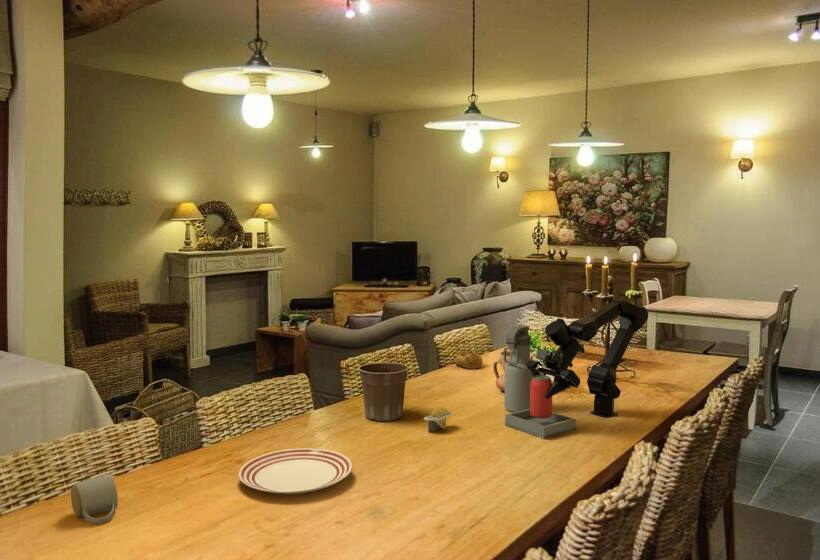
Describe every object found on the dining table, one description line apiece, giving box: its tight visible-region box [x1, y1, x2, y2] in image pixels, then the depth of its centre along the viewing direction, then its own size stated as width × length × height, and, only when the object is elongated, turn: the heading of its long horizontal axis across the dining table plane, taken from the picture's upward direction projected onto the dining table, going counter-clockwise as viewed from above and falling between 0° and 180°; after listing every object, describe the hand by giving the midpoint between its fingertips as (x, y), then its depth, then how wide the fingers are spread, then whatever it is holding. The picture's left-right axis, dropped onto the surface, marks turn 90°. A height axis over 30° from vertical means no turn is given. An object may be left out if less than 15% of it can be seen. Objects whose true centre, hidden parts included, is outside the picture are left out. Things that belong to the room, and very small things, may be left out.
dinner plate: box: [238, 447, 353, 495], centre depth 169 cm, size 28×27×3 cm
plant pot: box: [357, 362, 410, 422], centre depth 221 cm, size 16×16×16 cm
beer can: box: [530, 375, 553, 418], centre depth 209 cm, size 7×7×12 cm
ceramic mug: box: [70, 473, 119, 525], centre depth 148 cm, size 11×8×8 cm
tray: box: [504, 409, 577, 440], centre depth 210 cm, size 14×16×4 cm
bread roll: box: [453, 350, 483, 370], centre depth 293 cm, size 13×10×8 cm
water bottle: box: [503, 324, 532, 413], centre depth 228 cm, size 10×10×28 cm
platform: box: [423, 407, 452, 433], centre depth 207 cm, size 12×18×7 cm, turn 140°
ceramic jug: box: [492, 350, 534, 393], centre depth 253 cm, size 18×14×14 cm
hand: (537, 395), depth 208 cm, fingers closed on beer can, 7 cm apart
